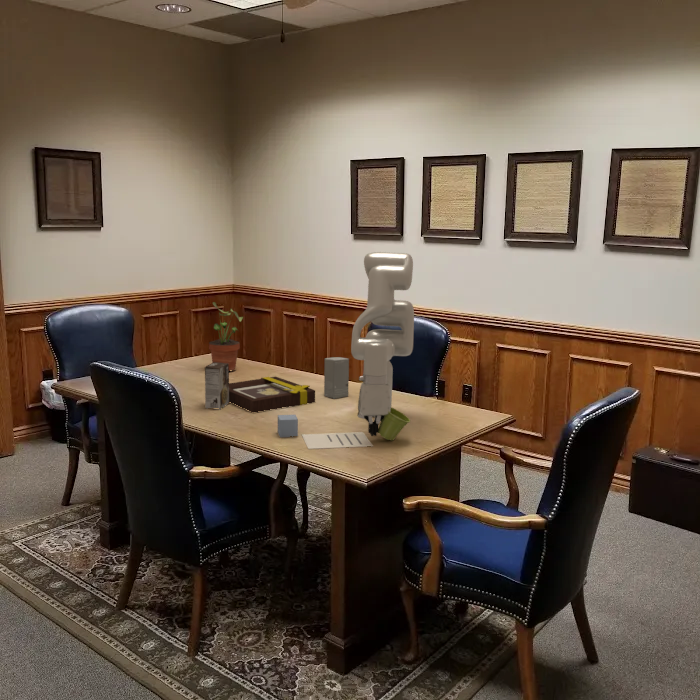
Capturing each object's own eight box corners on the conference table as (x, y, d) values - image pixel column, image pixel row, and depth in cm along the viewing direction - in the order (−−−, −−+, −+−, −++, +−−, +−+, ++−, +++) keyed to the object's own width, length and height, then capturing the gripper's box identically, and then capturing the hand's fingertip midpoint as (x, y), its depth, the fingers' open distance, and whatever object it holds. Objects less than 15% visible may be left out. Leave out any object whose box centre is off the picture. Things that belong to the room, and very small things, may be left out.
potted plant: (226, 375, 325) (226, 298, 318) (202, 371, 333) (201, 295, 326) (249, 370, 338) (249, 295, 331) (225, 365, 346) (225, 293, 339)
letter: (301, 435, 240) (301, 434, 240) (362, 432, 244) (362, 431, 244) (308, 449, 226) (308, 448, 226) (373, 446, 230) (373, 445, 230)
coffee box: (214, 402, 278) (213, 361, 275) (229, 403, 277) (229, 362, 274) (204, 408, 270) (204, 366, 267) (220, 409, 268) (220, 367, 265)
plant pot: (373, 425, 241) (385, 403, 240) (397, 438, 241) (410, 416, 240) (371, 433, 232) (384, 410, 230) (397, 447, 232) (410, 424, 231)
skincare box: (333, 399, 288) (334, 360, 285) (322, 395, 293) (323, 357, 290) (349, 396, 293) (350, 358, 290) (338, 392, 298) (339, 355, 296)
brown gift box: (275, 373, 303) (317, 387, 280) (275, 388, 304) (317, 404, 281) (215, 382, 286) (255, 398, 263) (216, 398, 287) (255, 415, 264)
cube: (277, 432, 243) (277, 415, 242) (295, 431, 244) (295, 414, 243) (279, 437, 237) (279, 420, 236) (297, 436, 238) (297, 419, 237)
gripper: (354, 382, 227) (353, 438, 230) (400, 381, 230) (398, 437, 233) (350, 377, 234) (348, 432, 237) (394, 377, 237) (392, 431, 240)
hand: (373, 434), depth 235 cm, fingers closed
